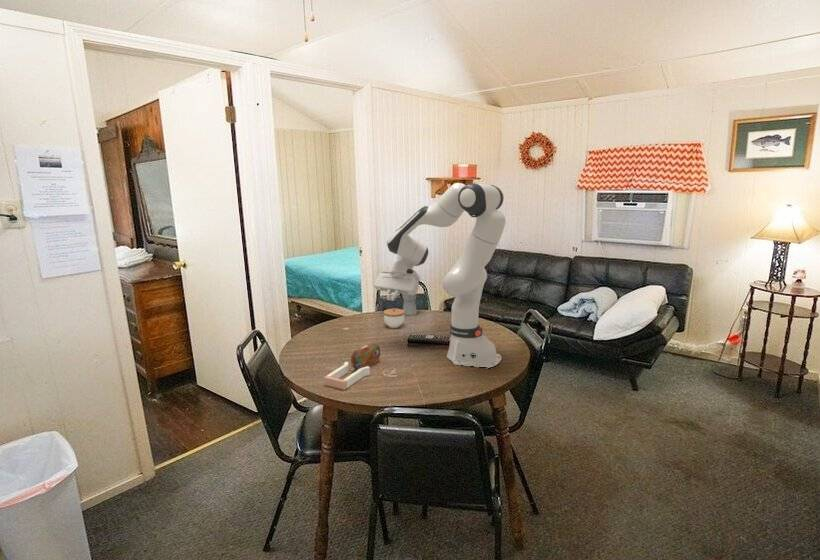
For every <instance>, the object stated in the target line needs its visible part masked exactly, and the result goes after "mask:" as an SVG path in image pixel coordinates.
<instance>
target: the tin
mask: <svg viewBox="0 0 820 560" xmlns="http://www.w3.org/2000/svg"><path fill="white" fill-rule="evenodd" d="M380 357H381V348H380V345H378V344H376V343H367V344H365V345H364V346H361V347H359V348H357V349H355V350H354V351H353V352H352V354H351V357H350V362H351V363H350V364H351V367H352V368H353V369H354V370H356V371H357V370H358V369H360V368H363V367H367V366H369V367H371V366H374V365H375V364H376V363H377V362H379V359H380Z"/></svg>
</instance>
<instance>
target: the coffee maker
mask: <svg viewBox="0 0 820 560" xmlns="http://www.w3.org/2000/svg"><path fill="white" fill-rule="evenodd" d="M417 294H418V291H417V293H416V294H415V295H409V294H402V293H399V296H400V299H401V300H403V305H402V310H404V311H405V313H404V316H408V317H410V316H415V315H417V314H418V313H417V307H416V299H417Z"/></svg>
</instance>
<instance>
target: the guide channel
mask: <svg viewBox="0 0 820 560" xmlns="http://www.w3.org/2000/svg"><path fill="white" fill-rule="evenodd" d="M349 368H350V367H349V361H344V363H343V365H341V366H340V367H338V368H336V369H334V370H333V371H332V372H330V373H329V374H327V375H326V376H324V377H323V385H324V386H328V387H331V388H335V389H339V390H344V391H346V390H347V389H348V388H350V387H351V386H353V385H354V384H356V382H358V381H359V380H362V378H364V377H367V376H370V375H371V366H367V367H363V368H360V369H358V370H357V369H356V370H355V371H354V372H353V373H351V374H350V375H348V376H347V377H345V378H343V379H341V378H342V377H343V376H344V375H346V374H348V373H349V370H350V369H349Z"/></svg>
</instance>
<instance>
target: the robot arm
mask: <svg viewBox="0 0 820 560" xmlns="http://www.w3.org/2000/svg"><path fill="white" fill-rule="evenodd" d="M503 203H504V193H503V192H502V190H501V189H500V188H499V187H498V186H497V185H494V184H486V183H483V182H482V183H480V182H479V183H478V182H477V183H474V182H472V183H468V184H464V183H462V182H455V183H453V184H452V185H451V186H449V187H448V188H447V190H445V191H444V193H442V194H441V196H440V197H439V198H438V199H437V201H436V202H434V203H433V204H431V205H427V206H426V205H425V206H422V207H421V208H419V209H418V210H417V211H416V212H415V213H414V214H413V215H412V216H410V218H408V219H407V220H406V221H405V222H404V223H403V224H401V226H400V227H399V228H397V229H396V230H395V231H394V232H393V233H391V235H389V237H388V240H387V242H386V245H387V248H388V250H389V252H390V253H393V254H394V255H397V257H396V261H395V262H394V264H393V266H392V269H391V271H386V270H385V271H382V272H380V273H379V274H378V276H377V278H376V279H375V282H374V283H373V287H374V288H375V290H377V291H382V292H387V293H386V294H387V296H386V300H387V301H391V302H394V301H395V299H396V298H397V297H399V296H400V294H399V293H402V294H409V295H415V294H416V293H417V294H418V292H417V291H418V290H419V286H420V283H419V282H420V280H421V277H420V276H419V273H418V272H417V271H416V270H414V267H419V266H421V265H424V263H426V260H427V259H428V257H429V247H428V246H427V245H426V244H424V243H422V242H421V241H419V240H417V239H415V238H414V237H412V236H410V234H411V233H412V232H413V231H414V230H415V229H417V227H419V226H422V225H425V226H426V225H428V226H434V227H438V228H448V227H451V226H453V225H454V224H455V223H456V222H457V221H458V219H460V217H461V215H462V214H463V213H464V212H466V213H467V214H468V215H469V216H470V217H471V218H475V219H476V220H475V224H474V226H473V228H472V230H471V233H470V235H469V238H468V239H467V241H466V244H465V246H464V248H463V250H462V251H461V253H460V254H459V256H458V257H457V258H456V260H455V262H454V263H453V265H452V266H451V268H450V269H449V270H448V272H447V273H446V275H445V276H444V277H443V279H442V287H443V290H444V291H445V293H446V294H447V295H449V296H451V297H454V300H453V302H452V305H451V311H450V312H451V316H450V317H451V323H450V326H449V337H450V339H449V340H450V341H449V346H448V351H447V354H446V358H447V359H448V360H450V361H451V362H452V364H453V365H455V366H461V365H463V366H464V367H470V366H474V367H473V368H479V367H488V368H489V367H493V366H495V365H497V364H498V363H499V362H500V360H501V361H502V356H501V355H500V354H499V353H497V349H496V345H495V344H494V343H493V342H492V341H491V340H490V339H488V338H487V337H486V336H485V335H484V334H483V332H484V331H483V330H484V326H482V327H481V326H480V324H479V312H480V310H479V309H480V308H479V307H480V302H481V299H482V294H483V289H484V286H485V283H486V281H487V279H488V272H487V270H486V268H485V267H486V266H487V264H488V263H490V261H491V259H492V257H493V255H494V253H495V250H496V249H497V246H498V244H499V242H500V240H501V238H502V235H503V232H504V229H505V227H506V226H505V225H506V217H505V215H504V214H503V213H502V212H501V211H500V210H499V209H500V208H501V207H502V205H503ZM417 294H416V295H417ZM498 357H500V358H498ZM500 363H501V362H500ZM463 366H462V367H463ZM488 368H487V369H488Z"/></svg>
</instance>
